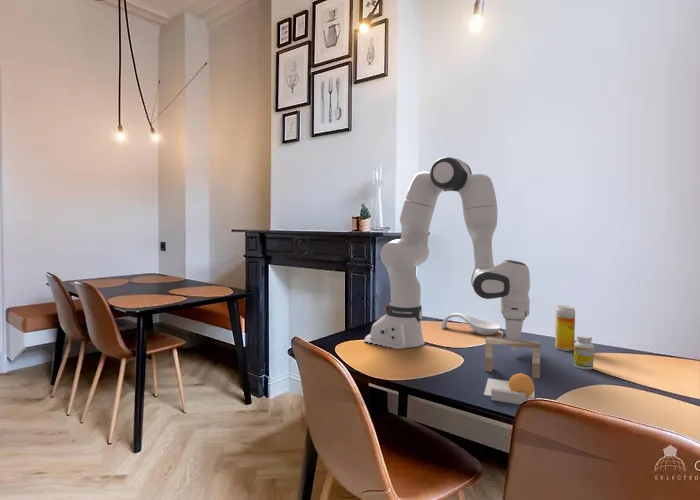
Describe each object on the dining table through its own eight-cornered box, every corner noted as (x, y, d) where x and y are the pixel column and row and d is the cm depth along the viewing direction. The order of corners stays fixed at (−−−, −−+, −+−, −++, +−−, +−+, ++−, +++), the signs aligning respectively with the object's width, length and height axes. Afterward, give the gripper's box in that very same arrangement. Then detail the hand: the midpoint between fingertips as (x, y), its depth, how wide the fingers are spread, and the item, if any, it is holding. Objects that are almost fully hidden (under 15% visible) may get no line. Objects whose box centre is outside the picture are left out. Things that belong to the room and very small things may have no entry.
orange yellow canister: (576, 352, 140) (577, 309, 139) (557, 351, 141) (558, 308, 140) (570, 346, 146) (571, 305, 145) (552, 345, 147) (553, 305, 146)
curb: (491, 399, 102) (491, 390, 102) (491, 397, 104) (491, 388, 103) (525, 405, 99) (525, 395, 99) (525, 402, 100) (526, 393, 100)
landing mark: (483, 395, 105) (483, 394, 105) (488, 379, 116) (488, 378, 116) (534, 403, 100) (534, 402, 100) (534, 385, 111) (534, 384, 111)
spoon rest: (502, 332, 168) (503, 315, 167) (497, 339, 157) (498, 321, 157) (446, 325, 179) (446, 309, 179) (438, 331, 169) (438, 314, 169)
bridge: (539, 378, 117) (540, 344, 116) (485, 370, 123) (485, 339, 122) (539, 374, 119) (540, 342, 119) (486, 367, 125) (486, 336, 125)
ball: (507, 397, 102) (508, 373, 103) (509, 393, 107) (510, 370, 108) (533, 402, 99) (534, 377, 100) (534, 397, 105) (535, 373, 105)
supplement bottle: (591, 371, 122) (592, 339, 121) (571, 367, 125) (572, 336, 125) (594, 366, 126) (595, 335, 125) (575, 362, 129) (576, 333, 129)
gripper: (506, 302, 146) (506, 340, 147) (502, 314, 128) (502, 357, 128) (525, 304, 144) (524, 342, 144) (524, 315, 125) (523, 359, 126)
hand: (514, 349), depth 136 cm, fingers closed
